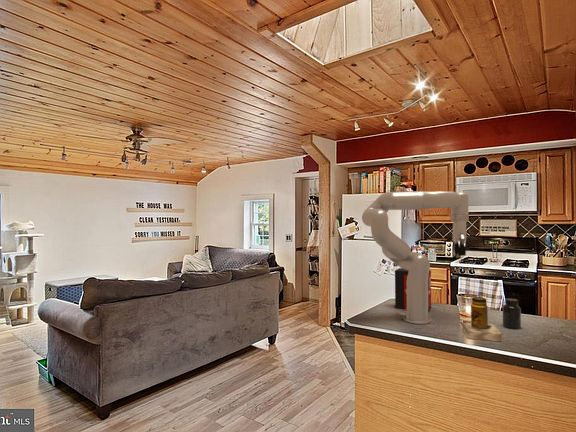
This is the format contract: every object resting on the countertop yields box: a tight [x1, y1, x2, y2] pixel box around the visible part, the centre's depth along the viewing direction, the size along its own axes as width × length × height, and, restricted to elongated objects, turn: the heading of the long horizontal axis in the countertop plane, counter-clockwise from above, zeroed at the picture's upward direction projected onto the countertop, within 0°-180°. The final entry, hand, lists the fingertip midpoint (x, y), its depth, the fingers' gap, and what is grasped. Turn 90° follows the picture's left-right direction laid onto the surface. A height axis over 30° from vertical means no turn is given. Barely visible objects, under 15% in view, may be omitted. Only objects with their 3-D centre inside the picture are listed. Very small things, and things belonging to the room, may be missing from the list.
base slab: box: [462, 322, 503, 342], centre depth 150 cm, size 12×12×3 cm
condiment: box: [469, 296, 492, 331], centre depth 151 cm, size 7×8×12 cm
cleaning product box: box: [394, 267, 432, 313], centre depth 193 cm, size 16×9×20 cm, turn 60°
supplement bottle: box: [502, 298, 522, 330], centre depth 161 cm, size 7×7×12 cm
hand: (460, 254), depth 175 cm, fingers open, 9 cm apart
